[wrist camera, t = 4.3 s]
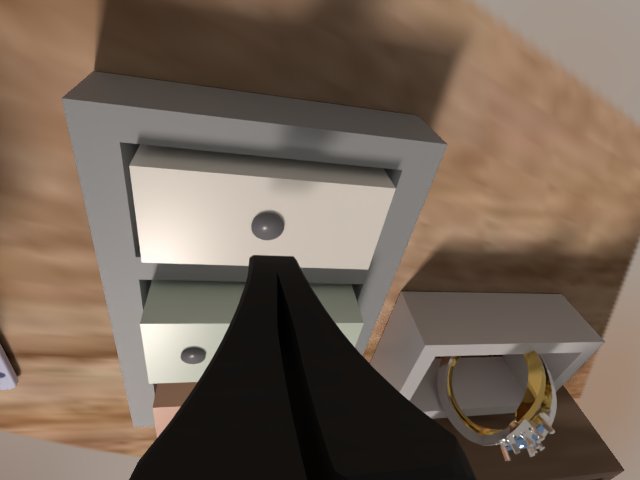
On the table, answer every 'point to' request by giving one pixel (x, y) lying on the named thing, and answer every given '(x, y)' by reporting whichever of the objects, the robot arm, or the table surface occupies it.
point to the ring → (521, 429)
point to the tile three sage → (213, 323)
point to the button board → (239, 138)
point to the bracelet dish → (480, 346)
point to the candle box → (554, 460)
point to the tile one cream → (256, 208)
